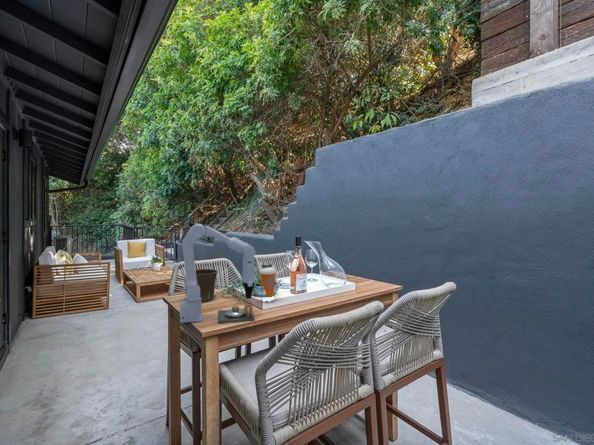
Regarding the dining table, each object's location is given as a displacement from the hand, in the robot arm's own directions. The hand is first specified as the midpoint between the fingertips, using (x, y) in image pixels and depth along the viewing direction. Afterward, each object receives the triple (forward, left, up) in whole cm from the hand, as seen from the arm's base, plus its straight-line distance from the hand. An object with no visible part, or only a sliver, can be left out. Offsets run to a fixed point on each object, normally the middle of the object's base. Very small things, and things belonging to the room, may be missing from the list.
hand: (248, 298), depth 156 cm
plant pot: (-22, +33, -8) cm, 41 cm away
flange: (-5, -3, -6) cm, 8 cm away
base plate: (-6, -2, -8) cm, 10 cm away
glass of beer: (+13, +21, -8) cm, 26 cm away
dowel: (-1, -7, -7) cm, 10 cm away
